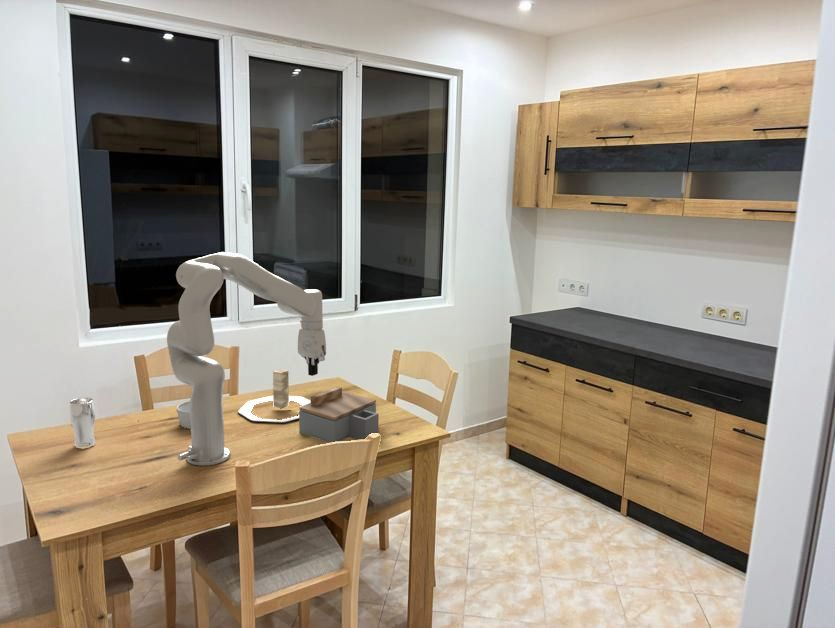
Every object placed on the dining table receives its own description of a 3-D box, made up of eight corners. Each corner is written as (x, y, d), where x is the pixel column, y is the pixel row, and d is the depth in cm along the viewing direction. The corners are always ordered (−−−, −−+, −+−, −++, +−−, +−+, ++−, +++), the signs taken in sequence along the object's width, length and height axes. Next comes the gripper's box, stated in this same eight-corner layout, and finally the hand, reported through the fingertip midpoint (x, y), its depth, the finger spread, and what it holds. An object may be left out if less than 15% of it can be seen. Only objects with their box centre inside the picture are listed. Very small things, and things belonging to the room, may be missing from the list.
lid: (334, 420, 198) (334, 409, 197) (299, 409, 207) (299, 398, 206) (375, 402, 216) (376, 391, 215) (341, 393, 225) (341, 383, 224)
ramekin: (180, 433, 205) (179, 414, 204) (174, 420, 216) (173, 402, 215) (220, 427, 211) (219, 408, 210) (213, 415, 223) (212, 397, 221)
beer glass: (102, 442, 196) (99, 398, 193) (85, 451, 189) (81, 405, 186) (84, 439, 198) (81, 396, 195) (67, 448, 191) (63, 403, 188)
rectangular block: (281, 408, 228) (280, 373, 225) (273, 406, 230) (273, 371, 227) (288, 406, 231) (288, 370, 228) (281, 403, 233) (280, 368, 230)
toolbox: (350, 449, 196) (350, 426, 194) (299, 432, 208) (299, 410, 207) (391, 429, 214) (391, 407, 212) (341, 414, 226) (341, 394, 225)
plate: (227, 409, 230) (227, 405, 230) (291, 394, 248) (291, 390, 248) (262, 431, 210) (262, 427, 210) (329, 413, 228) (329, 409, 228)
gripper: (288, 323, 214) (290, 373, 218) (320, 329, 206) (321, 381, 210) (304, 319, 220) (305, 368, 224) (335, 325, 212) (335, 375, 216)
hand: (313, 374), depth 217 cm, fingers closed
